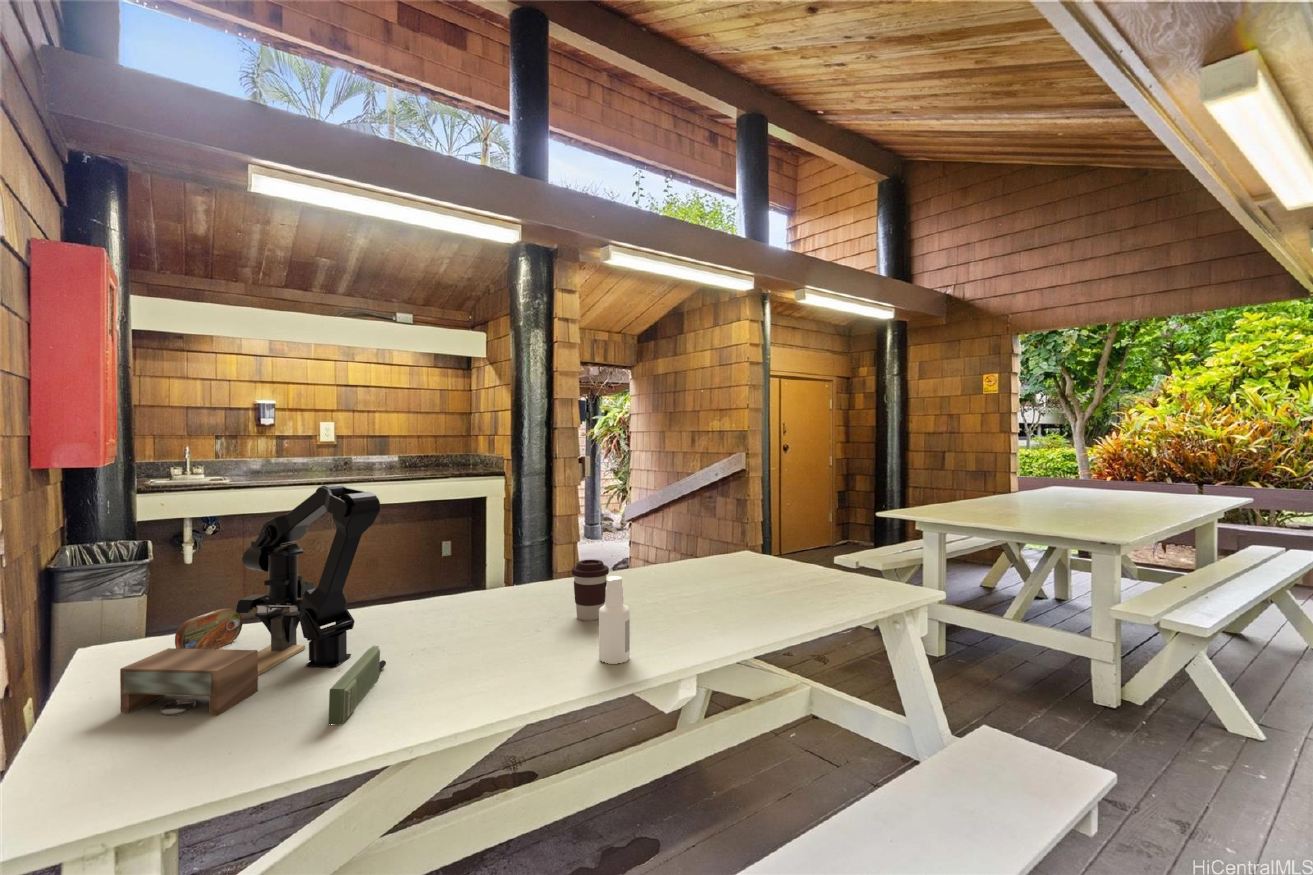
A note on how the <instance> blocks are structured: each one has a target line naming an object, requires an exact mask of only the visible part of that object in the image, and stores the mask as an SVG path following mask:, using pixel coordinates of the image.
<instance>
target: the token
mask: <svg viewBox="0 0 1313 875" xmlns="http://www.w3.org/2000/svg"><path fill="white" fill-rule="evenodd" d="M196 707H197V700H196V699H194V698H187V697H186V698H180V699H177V700H172V701H169V702H167V703H165V704H163V705H162V706H161V707H160V715H161V716H163V717H172V716H174V717H175V716H179V715H183V714H185V713H189V712H191V711H192V710H194V709H195V708H196ZM178 714H179V715H178Z"/></svg>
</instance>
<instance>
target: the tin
mask: <svg viewBox="0 0 1313 875" xmlns="http://www.w3.org/2000/svg"><path fill="white" fill-rule="evenodd" d="M242 628H243V617H242V613H236V608H231V607H229V608H228V607H227V608H220V609H217V610H213V611H210V612H208V613H205V614H201V615H199V616H195V617H192V618H190V619H187V620H186V621H184V622H183V623H181V625H180V626H179V627H178V628H177V631H176V632H175V636H174V644H175V645H174V646H175V648H178V649H219V648H222V647H225V646H228V645H230V644H231V643H233V642H234V641H235V640H236V639H237V638H238V637H239V635H240V634H241V632H242Z"/></svg>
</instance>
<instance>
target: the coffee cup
mask: <svg viewBox="0 0 1313 875" xmlns="http://www.w3.org/2000/svg"><path fill="white" fill-rule="evenodd" d="M609 573H610V568H609V566H607V565H605V563H604V562H603V561H602V560H601V559H600V560H599V559H583V560H579V561H577V563H576V565H574V566H572V568H571V575H572V576H573V578H574V581H573V591H574V603H575V608H576V618H577V619H579V620H581V621H584V622H585V621H586V622H588V621H589V622H591V621H599V609H600V608H601V607H602V606H603V605H605V597H606V585H607V576H608V575H609Z"/></svg>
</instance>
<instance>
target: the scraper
mask: <svg viewBox="0 0 1313 875" xmlns="http://www.w3.org/2000/svg"><path fill="white" fill-rule="evenodd" d="M287 613H289V612H288V611H287V612H286V611H285V612H284V613H283V612H282V614H281V615H279V616H277V617H275V618H272V619H271V634H270V645H268V646H266V647H264V648H261V649H260V650H258V676H260V675H262V674H263V673H265V672H267V671H268V670H271V669H272V668H275V667H276V666H278V665H279V664H281V663H284V661H286V660H288V659H290V658H292V657H293V656H296V654H298V653H300V652H301V651H304V650H305V649H306V645H305V644H297V631H296V632H295V634H294V637H293V640H292V641H291V642H287V638H286V633H285V626H284V619H283V615H285V614H287Z"/></svg>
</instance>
